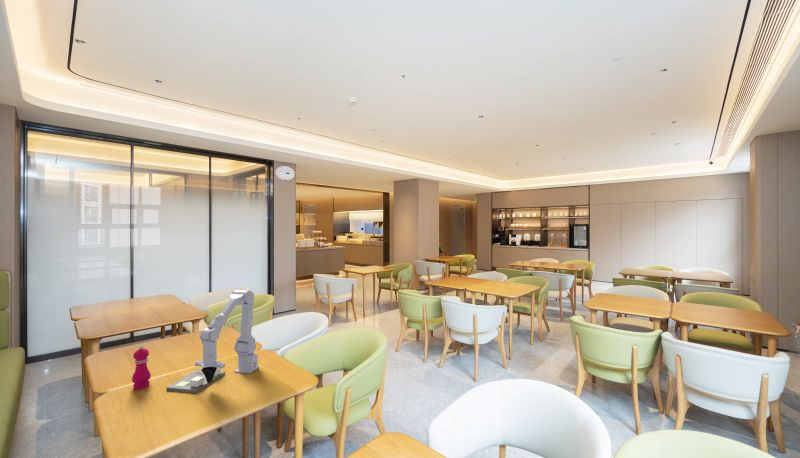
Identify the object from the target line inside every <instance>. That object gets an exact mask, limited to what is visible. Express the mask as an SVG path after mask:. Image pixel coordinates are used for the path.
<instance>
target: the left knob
mask: <svg viewBox="0 0 800 458" xmlns="http://www.w3.org/2000/svg"><path fill="white" fill-rule="evenodd" d="M203 383H204V377H197V376H196V377H195V378H193V379H191V380H190V386H191V387H199V386H200V385H202V384H203Z"/></svg>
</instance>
